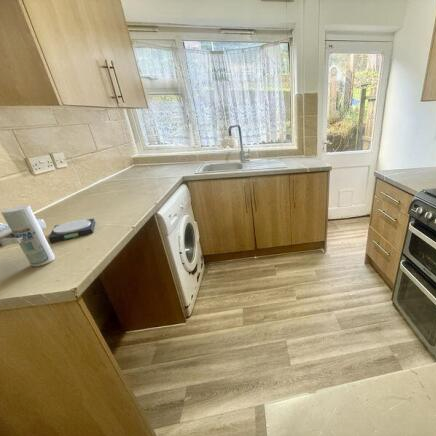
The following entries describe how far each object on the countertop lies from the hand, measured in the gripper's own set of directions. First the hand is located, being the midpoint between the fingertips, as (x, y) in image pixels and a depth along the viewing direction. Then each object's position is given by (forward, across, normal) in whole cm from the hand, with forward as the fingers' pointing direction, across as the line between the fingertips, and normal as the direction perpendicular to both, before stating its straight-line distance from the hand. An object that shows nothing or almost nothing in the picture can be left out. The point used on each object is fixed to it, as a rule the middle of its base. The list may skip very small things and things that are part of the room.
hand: (31, 235), depth 80 cm
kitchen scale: (-11, -24, -11) cm, 28 cm away
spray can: (-2, -1, -11) cm, 11 cm away
